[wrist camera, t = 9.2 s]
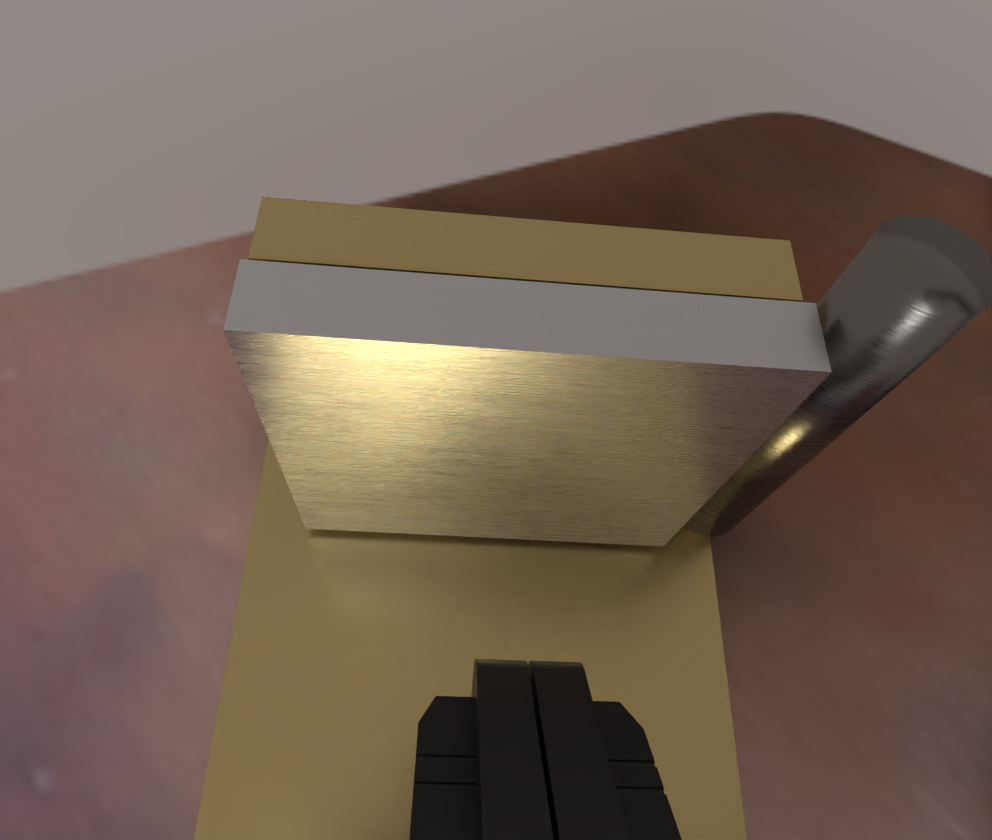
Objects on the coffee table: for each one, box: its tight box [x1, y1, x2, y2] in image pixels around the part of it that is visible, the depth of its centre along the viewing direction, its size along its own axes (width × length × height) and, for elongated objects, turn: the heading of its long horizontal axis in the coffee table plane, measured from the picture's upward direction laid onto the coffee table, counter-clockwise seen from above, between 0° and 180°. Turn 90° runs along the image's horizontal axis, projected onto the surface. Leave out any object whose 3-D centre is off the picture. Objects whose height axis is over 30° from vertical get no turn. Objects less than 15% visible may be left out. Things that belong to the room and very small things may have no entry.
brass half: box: [194, 197, 992, 840], centre depth 12 cm, size 12×15×10 cm
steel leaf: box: [224, 259, 832, 546], centre depth 14 cm, size 8×1×8 cm, turn 89°
